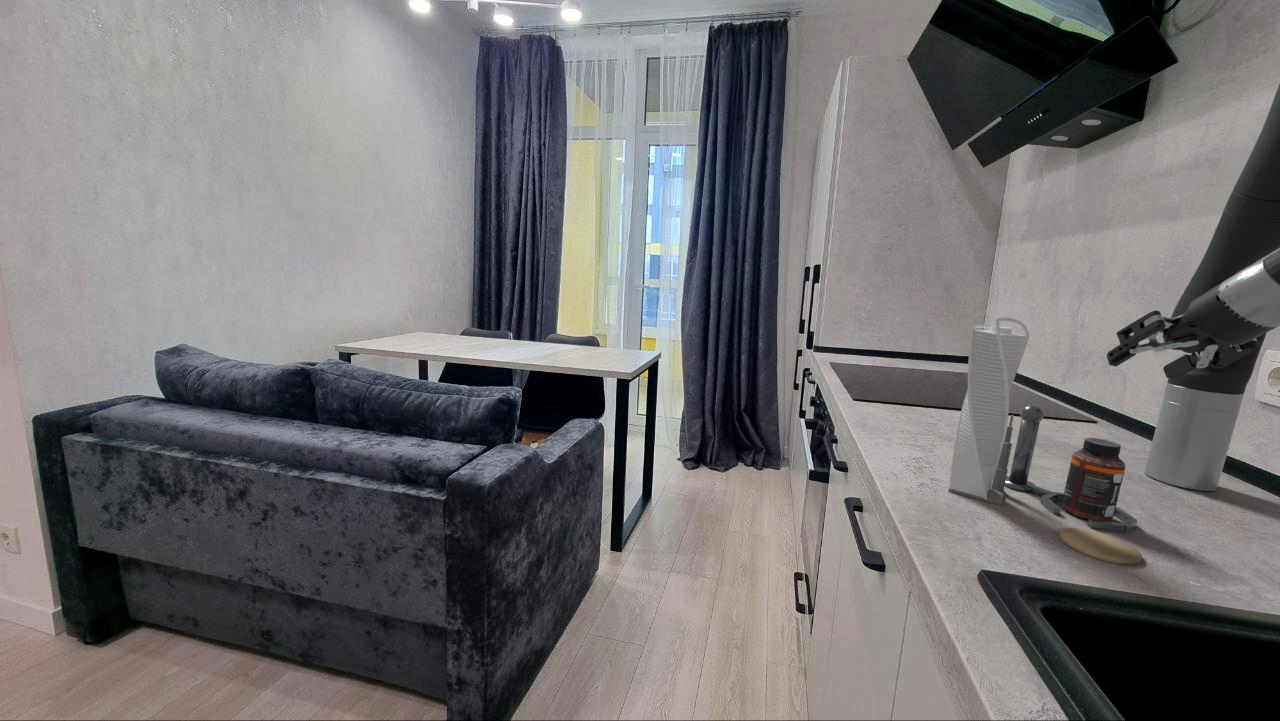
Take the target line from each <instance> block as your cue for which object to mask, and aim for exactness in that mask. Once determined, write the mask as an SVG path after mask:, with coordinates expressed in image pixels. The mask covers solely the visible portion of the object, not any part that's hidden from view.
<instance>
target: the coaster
mask: <svg viewBox="0 0 1280 721" xmlns="http://www.w3.org/2000/svg"><path fill="white" fill-rule="evenodd" d="M1059 538H1060V540H1061V542H1062V543H1064V544H1065V545H1067V546H1068V547H1070V548H1071V549H1073V550H1075V551H1077V552H1078V553H1080V554H1081V553H1082V554H1084V555H1086V556H1088V557H1090V558H1094V559H1096V560H1100V561H1103V562H1107V563H1111V564H1117V565H1123V566H1136V565H1138V564H1140V563H1141V561H1142V557H1143V556H1142V553H1141V551H1139V550H1138V549H1137V548H1136V547H1134V546H1133V545H1131V544H1129V543H1127V542H1125V541H1123V540H1122V539H1118V538H1116V537H1114V536H1111V535H1108V534H1105V533H1102V532H1099V531H1096V530H1095V531H1094V530H1091V529H1087V528H1080V527H1065V528H1063V529H1061V530H1060V533H1059Z"/></svg>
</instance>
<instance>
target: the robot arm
mask: <svg viewBox="0 0 1280 721" xmlns="http://www.w3.org/2000/svg"><path fill="white" fill-rule="evenodd" d="M1254 144H1255V145H1254V146H1253V148H1252V150H1251V153H1250V155H1249V156H1248V159H1247V161H1246V163H1245V165H1244V166H1243V169H1242V171H1241V173H1240V175H1239V177H1238V179H1237V181H1236V182H1235V185H1234V186H1233V189H1232V191H1231V193H1230V195H1229V198H1228V200H1227V202H1226V204H1225V206H1224V209H1223V211H1222V214H1221V216H1220V218H1219V221H1218V224H1217V225H1216V228H1215V231H1214V233H1213V236H1211V237H1212V238H1211V239H1210V242H1209V244H1208V247H1207V249H1206V251H1205V253H1204V254H1203V258H1202V259H1201V261H1200V263H1199V266H1198V267H1197V269H1196V270H1195V272H1194V274H1193V275H1192V276H1191V279H1190V280H1189V282H1188V284H1187V286H1186V287H1185V289H1184V291H1183V292H1182V295H1181V296H1180V298H1179V300H1178V302H1177V303H1176V305H1175V307H1174V309H1173V311H1172V313H1171V317H1170V318H1169V317H1166V316H1162V313H1161V312H1160V311H1159V310H1152V311H1149V312H1148V313H1146V314H1144V315H1143V316H1142V317H1139V318H1138V319H1137V320H1135V321H1133V322H1131V323H1130V324H1128V325H1126V326H1125V327H1123V328H1122V329H1119V330H1118V331H1117V332H1116V333H1115V334H1116V336H1117V339H1118V341H1119V344H1118V345H1117V346H1116V347H1114V348H1112V349H1111V350H1109V351H1108V352H1107V353H1106V359H1107V362H1108V365H1109V366H1111V367H1118V366H1120V365H1121V364H1123V363H1124V362H1126V361H1128V360H1130V359H1131V358H1133V357H1135V356H1137V354H1139V353H1144V352H1149V351H1154V352H1156V353H1157V352H1158V353H1159V352H1163V351H1166V350H1173V351H1182V352H1184V353H1186V354H1184V355H1182V356H1179V357H1178V358H1177V359H1175V360H1173V361H1171V362H1169V363H1168V364H1166V365H1164V366H1163V372H1164V375H1165V377H1166V378H1167V383H1166V386H1165V391H1164V394H1163V399H1162V401H1161V406H1160V410H1159V414H1158V418H1157V422H1156V426H1155V430H1154V434H1153V438H1152V442H1151V445H1150V448H1149V449H1150V450H1149V453H1148V455H1147V456H1148V457H1147V460H1146V464H1145V469H1144V474H1145V475H1147V476H1148V477H1150V478H1152V479H1155V480H1156V481H1159V482H1163V483H1165V484H1169V485H1172V486H1176V487H1180V488H1184V489H1188V490H1189V489H1190V490H1194V491H1202V492H1215V491H1217V489H1218V487H1219V482H1220V479H1221V476H1222V472H1223V469H1224V466H1225V462H1226V459H1227V455H1228V452H1229V448H1230V446H1231V442H1232V438H1233V434H1234V430H1235V427H1236V424H1237V420H1238V416H1239V413H1240V409H1241V405H1242V403H1243V402H1242V401H1243V399H1244V395H1245V392H1246V389H1247V385H1248V383H1249V381H1250V379H1251V378H1252V376H1253V372H1254V370H1255V366H1256V363H1257V360H1258V357H1259V355H1260V351H1261V350H1262V347H1263V344H1264V342H1265V339H1266V335H1267V333H1268V332H1271V331H1273V330H1274V329H1276V328H1278V327H1280V83H1278V87H1277V89H1276V92H1275V94H1274V97H1273V101H1272V102H1271V106H1270V108H1269V111H1268V114H1267V115H1266V118H1265V122H1264V124H1263V126H1262V128H1261V131H1260V133H1259V136H1258V138H1257V140H1256V142H1255V143H1254ZM1159 334H1162V340H1163V342H1159V341H1158V340H1157V338H1156V337H1157V335H1159ZM1144 340H1149V342H1147V343H1143V344H1139V343H1140V342H1142V341H1144Z"/></svg>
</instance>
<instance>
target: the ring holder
mask: <svg viewBox="0 0 1280 721" xmlns="http://www.w3.org/2000/svg"><path fill="white" fill-rule="evenodd" d="M1020 418H1021V421H1020V426H1019V428H1018V429H1019V431H1018V434H1017V440H1016V445H1015V450H1014V454H1013V460H1012V463H1011V464H1012V465H1011V469H1010V473H1009V474H1010V475H1007V476H1006V481H1005V486H1004V488H1005V487H1006V488H1008V489H1011V490H1014V491H1018V492H1023V493H1033V494H1037V495H1039V496H1041V498H1040V502H1039V503H1040V504H1041V505H1042V506H1043V507H1044V508H1045V509H1047V510H1048V511H1049V512H1051V514H1052V515H1058V516H1060V515H1061V511H1062V507H1060V506H1058V505H1057V504H1056V503H1055V502H1056V501H1061V502H1062V500H1063V495H1064V492H1057V491H1052V490H1048V489H1045V488H1043V487H1039V486H1037V485H1036V484H1035V483H1033V482H1031V481H1028V479H1029V475H1030V469H1031V465H1032V460H1033V456H1034V451H1035V446H1036V442H1037V438H1038V432H1039V428H1040V423H1041V421H1042V420H1044V412H1043V410H1042V409H1041V408H1040V407H1039V406H1037V405H1032V404H1030V405H1026V406H1024V407H1023V408H1022V409H1021V411H1020ZM1114 516H1115V517H1116V518H1117V519H1119V520H1120V521H1122V522H1120V523H1119V522H1114V521H1109V522H1108V521H1101V520H1094V519H1089V520H1088V522H1087V526H1088V527H1089V528H1090V529H1095V530H1103V531H1109V532H1115V533H1122V534H1123V533H1124V534H1125V533H1128V532H1129V531H1131V530H1133V529H1135V528H1136V527H1137V522H1138V520H1137V518H1135V517H1133V516H1132V515H1131V514H1129V513H1127V512H1126V511H1125V510H1123V509H1122V508H1120V507H1117V506H1116V509H1115V514H1114Z"/></svg>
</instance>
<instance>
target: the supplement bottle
mask: <svg viewBox="0 0 1280 721" xmlns="http://www.w3.org/2000/svg"><path fill="white" fill-rule="evenodd" d="M1121 446H1122V445H1121V444H1119V443H1117V442H1115V441H1111V440H1107V439H1102V438H1096V437H1085V439H1084V442H1083V444H1082V448H1081V449H1079V450H1076V451H1074V452H1073V454H1072V455H1071V456H1072V457H1071V461H1070V463H1069V464H1070V465H1069V470H1068V473H1067V478H1066V482H1065V486H1064V491H1063V493H1064V495H1063V500H1062V501H1061V508H1062V509H1063V510H1064V511H1066V512H1067V513H1069V514H1071V515H1072V516H1075V517H1077V518H1079V519H1080V518H1081V519H1084V520H1088V521H1089V519H1094V520H1101V521H1108V522H1112V521H1113V519H1114V516H1115V515H1114V514H1115V509H1116V507H1117V504H1118V500H1119V495H1120V493H1121V486H1122V482H1123V480H1124V476H1125V471H1126V463H1125V462H1124V461H1123V460H1122V459H1121V458H1120V454H1121V449H1122V448H1121Z"/></svg>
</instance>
